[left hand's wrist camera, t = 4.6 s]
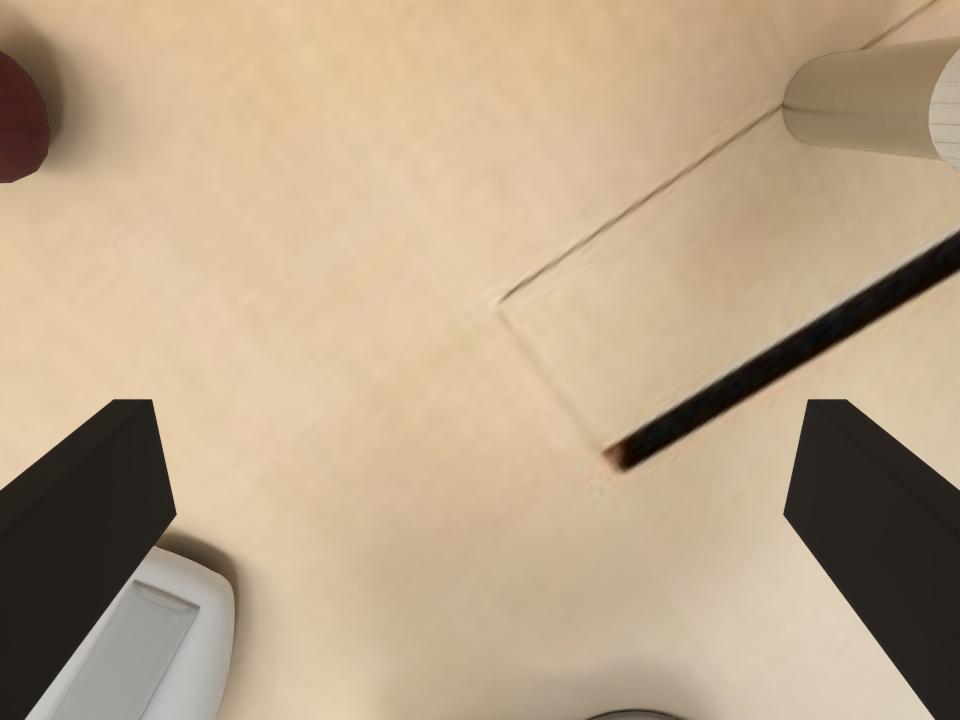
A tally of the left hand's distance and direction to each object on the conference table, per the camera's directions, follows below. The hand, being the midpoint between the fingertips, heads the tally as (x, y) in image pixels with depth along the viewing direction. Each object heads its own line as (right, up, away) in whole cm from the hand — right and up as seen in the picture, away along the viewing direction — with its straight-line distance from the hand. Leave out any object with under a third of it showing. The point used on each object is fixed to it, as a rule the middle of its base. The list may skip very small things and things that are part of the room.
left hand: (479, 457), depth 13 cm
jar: (+20, +17, +23) cm, 35 cm away
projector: (-28, -21, +39) cm, 52 cm away
